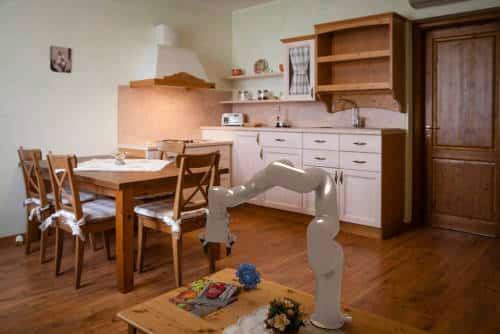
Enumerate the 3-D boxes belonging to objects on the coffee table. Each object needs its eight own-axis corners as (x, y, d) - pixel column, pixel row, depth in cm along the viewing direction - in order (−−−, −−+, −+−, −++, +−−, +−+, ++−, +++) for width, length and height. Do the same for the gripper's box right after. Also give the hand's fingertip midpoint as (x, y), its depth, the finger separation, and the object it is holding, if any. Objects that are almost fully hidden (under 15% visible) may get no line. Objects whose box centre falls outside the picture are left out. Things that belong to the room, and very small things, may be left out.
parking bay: (237, 287, 198) (237, 282, 198) (224, 307, 178) (224, 301, 178) (207, 284, 201) (207, 279, 201) (192, 303, 181) (192, 298, 180)
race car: (215, 300, 182) (215, 291, 181) (203, 298, 184) (203, 289, 183) (228, 288, 194) (228, 280, 194) (217, 286, 196) (217, 278, 196)
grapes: (233, 291, 194) (234, 265, 193) (235, 285, 201) (236, 260, 199) (259, 293, 193) (260, 266, 191) (261, 287, 199) (261, 261, 198)
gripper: (239, 214, 187) (238, 253, 189) (200, 212, 190) (200, 250, 193) (235, 218, 180) (234, 259, 182) (195, 216, 183) (195, 255, 185)
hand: (217, 254), depth 187 cm, fingers open, 9 cm apart
